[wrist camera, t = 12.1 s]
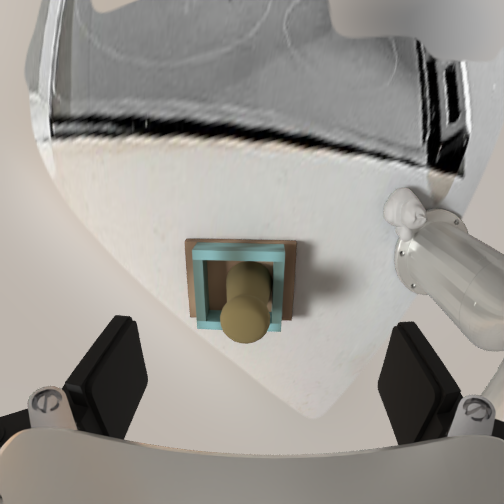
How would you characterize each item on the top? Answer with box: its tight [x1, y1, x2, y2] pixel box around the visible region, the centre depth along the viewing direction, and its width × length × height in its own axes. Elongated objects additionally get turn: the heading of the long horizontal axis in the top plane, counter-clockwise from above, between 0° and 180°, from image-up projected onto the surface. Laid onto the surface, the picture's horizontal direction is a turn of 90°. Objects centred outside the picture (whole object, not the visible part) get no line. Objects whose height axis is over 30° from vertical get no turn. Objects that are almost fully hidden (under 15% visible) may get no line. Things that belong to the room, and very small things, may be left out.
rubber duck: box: [383, 188, 427, 242], centre depth 35 cm, size 5×7×8 cm
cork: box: [220, 261, 273, 344], centre depth 37 cm, size 6×6×11 cm
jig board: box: [185, 239, 297, 332], centre depth 41 cm, size 14×11×4 cm
